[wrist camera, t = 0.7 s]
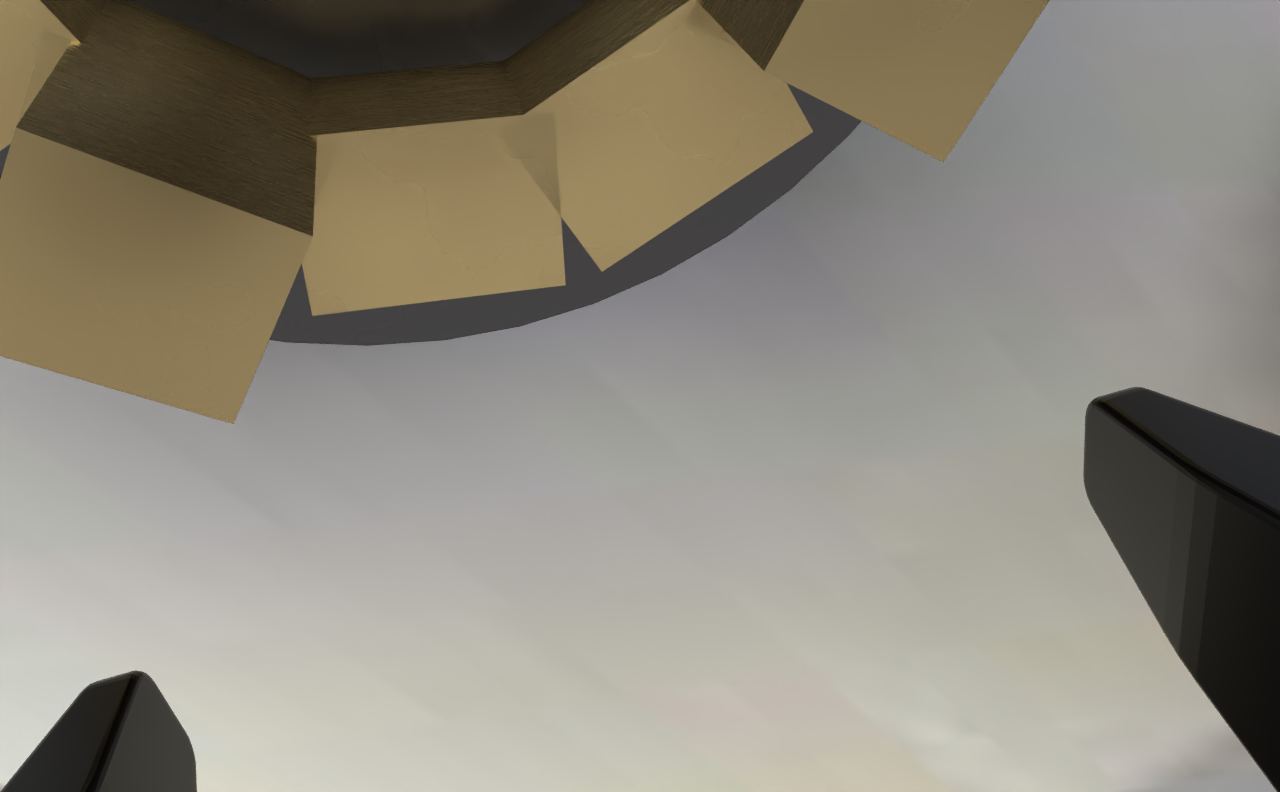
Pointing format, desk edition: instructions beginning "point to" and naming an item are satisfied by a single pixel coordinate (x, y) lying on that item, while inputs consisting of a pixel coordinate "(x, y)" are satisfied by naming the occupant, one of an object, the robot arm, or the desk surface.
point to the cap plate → (455, 35)
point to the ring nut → (407, 162)
